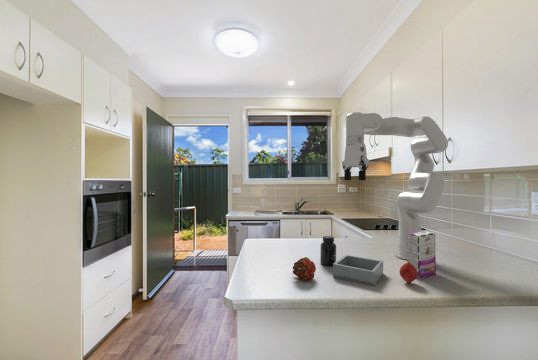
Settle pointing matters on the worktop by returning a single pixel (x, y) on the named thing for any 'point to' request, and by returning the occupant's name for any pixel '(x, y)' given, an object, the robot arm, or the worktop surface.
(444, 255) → the worktop surface
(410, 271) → the pomegranate
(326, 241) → the supplement bottle
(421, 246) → the candy bar box
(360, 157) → the robot arm
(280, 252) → the worktop surface
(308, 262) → the dragon fruit
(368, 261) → the bin
